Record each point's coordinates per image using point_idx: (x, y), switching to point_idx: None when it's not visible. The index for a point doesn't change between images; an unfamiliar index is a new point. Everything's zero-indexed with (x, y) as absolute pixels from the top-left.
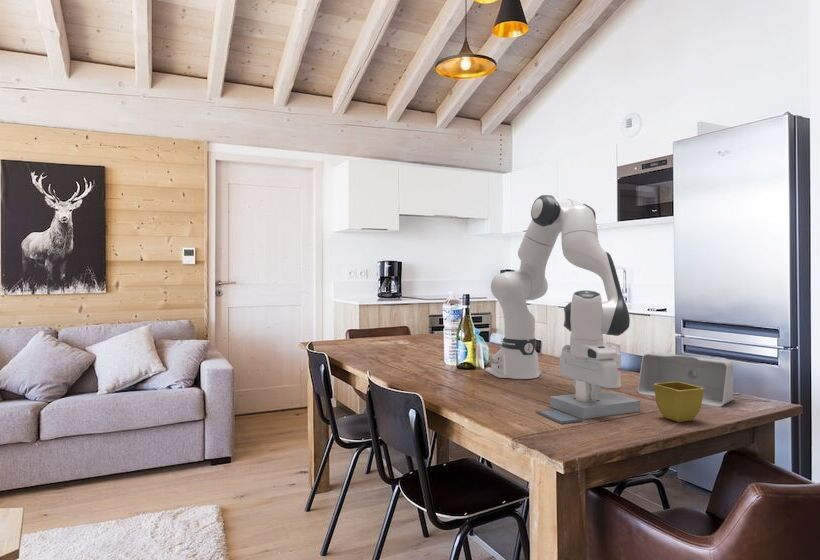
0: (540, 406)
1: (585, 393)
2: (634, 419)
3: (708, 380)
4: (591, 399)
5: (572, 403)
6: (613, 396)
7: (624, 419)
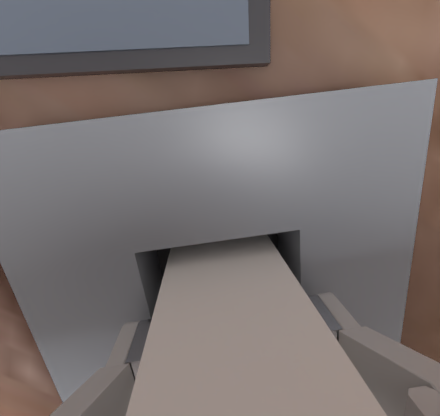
0: (410, 26)
1: (151, 321)
2: (3, 385)
3: None
4: (138, 321)
5: (128, 131)
6: None
7: (5, 348)
